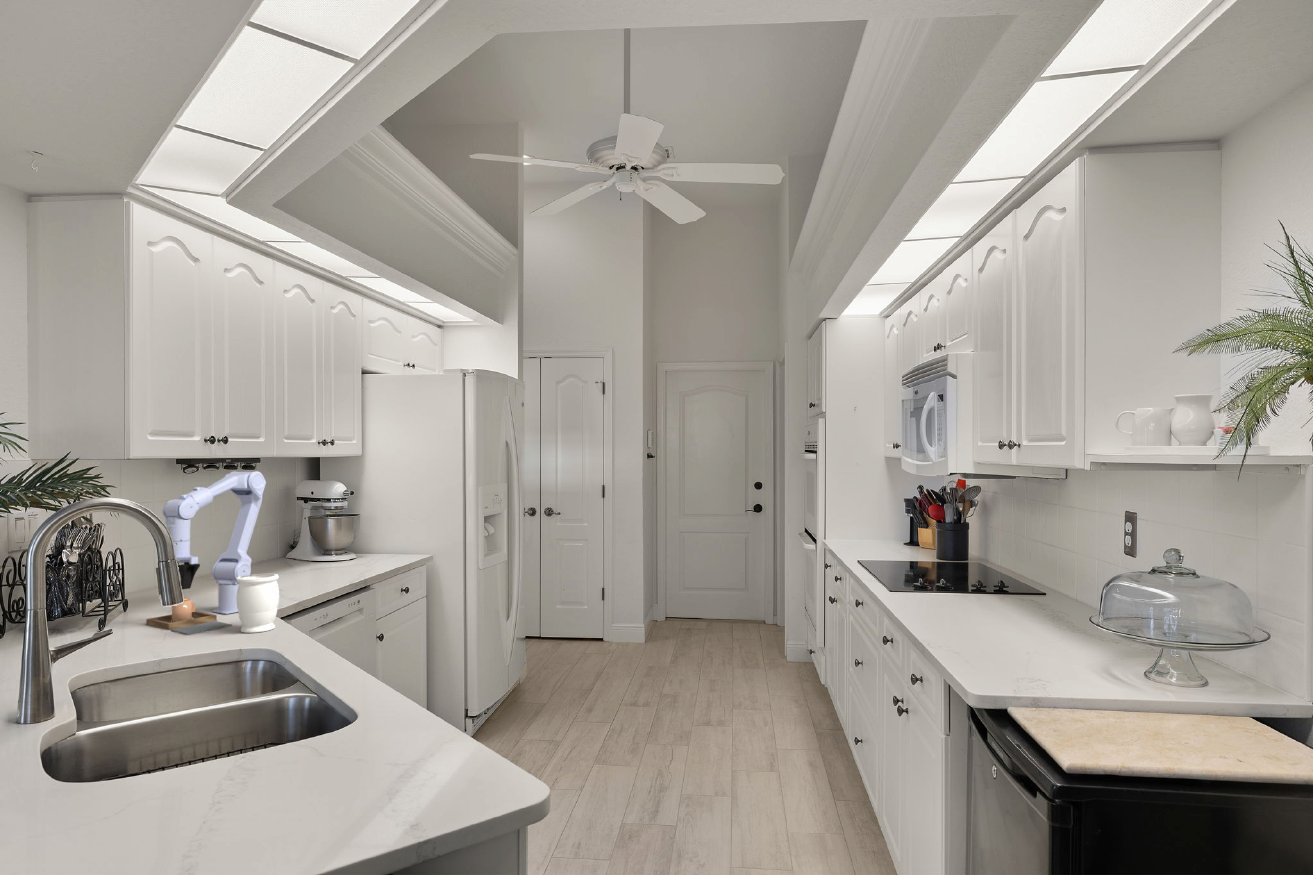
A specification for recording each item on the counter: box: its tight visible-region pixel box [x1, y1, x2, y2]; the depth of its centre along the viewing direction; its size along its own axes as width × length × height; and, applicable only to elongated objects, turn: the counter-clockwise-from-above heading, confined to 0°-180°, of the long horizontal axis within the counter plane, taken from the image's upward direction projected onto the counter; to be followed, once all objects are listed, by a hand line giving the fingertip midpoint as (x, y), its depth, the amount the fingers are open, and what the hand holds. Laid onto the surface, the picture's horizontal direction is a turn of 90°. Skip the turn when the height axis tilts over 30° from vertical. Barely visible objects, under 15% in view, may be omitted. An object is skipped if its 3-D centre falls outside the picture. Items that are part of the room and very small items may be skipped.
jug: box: [171, 596, 196, 623], centre depth 217 cm, size 6×5×7 cm
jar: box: [237, 573, 280, 634], centre depth 206 cm, size 11×10×15 cm
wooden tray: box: [145, 610, 218, 631], centre depth 216 cm, size 13×13×2 cm
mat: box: [170, 620, 233, 636], centre depth 209 cm, size 12×9×1 cm
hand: (177, 588), depth 213 cm, fingers open, 7 cm apart
